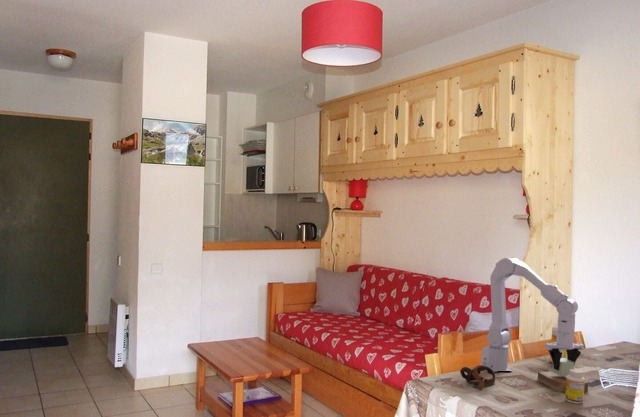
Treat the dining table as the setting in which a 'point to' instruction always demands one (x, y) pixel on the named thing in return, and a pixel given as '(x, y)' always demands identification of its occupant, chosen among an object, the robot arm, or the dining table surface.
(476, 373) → the brown looped piece
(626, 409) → the dining table surface
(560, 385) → the walnut base
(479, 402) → the dining table surface
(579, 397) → the supplement bottle
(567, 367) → the sage block
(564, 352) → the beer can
